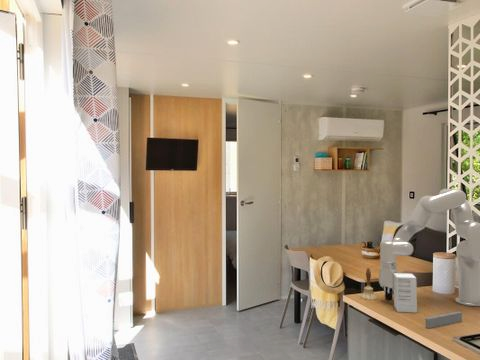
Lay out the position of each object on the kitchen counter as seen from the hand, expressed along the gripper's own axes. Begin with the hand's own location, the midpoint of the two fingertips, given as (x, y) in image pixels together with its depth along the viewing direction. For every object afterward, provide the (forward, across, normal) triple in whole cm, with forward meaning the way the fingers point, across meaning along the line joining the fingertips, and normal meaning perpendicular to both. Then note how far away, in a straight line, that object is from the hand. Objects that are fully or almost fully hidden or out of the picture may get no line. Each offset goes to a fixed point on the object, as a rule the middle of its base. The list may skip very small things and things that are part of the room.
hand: (388, 300), depth 206 cm
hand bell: (+2, +12, +3) cm, 12 cm away
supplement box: (+2, -11, 0) cm, 11 cm away
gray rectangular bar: (+2, -33, 0) cm, 33 cm away
